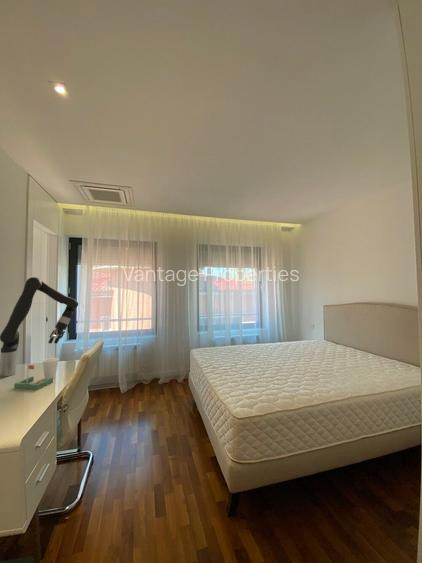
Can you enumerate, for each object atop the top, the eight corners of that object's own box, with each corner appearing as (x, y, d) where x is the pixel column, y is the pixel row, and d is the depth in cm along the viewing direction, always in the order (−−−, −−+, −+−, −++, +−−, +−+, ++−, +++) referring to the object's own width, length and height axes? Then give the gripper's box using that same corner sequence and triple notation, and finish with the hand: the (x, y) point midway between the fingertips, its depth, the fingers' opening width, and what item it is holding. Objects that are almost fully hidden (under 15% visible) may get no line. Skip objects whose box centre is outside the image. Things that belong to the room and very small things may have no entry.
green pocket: (14, 388, 147) (15, 364, 148) (31, 380, 159) (32, 358, 160) (37, 389, 145) (38, 365, 146) (52, 382, 158) (54, 359, 159)
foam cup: (60, 375, 170) (61, 358, 170) (51, 380, 161) (52, 361, 161) (49, 375, 171) (50, 357, 171) (38, 379, 162) (39, 361, 162)
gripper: (53, 321, 183) (42, 341, 174) (63, 320, 176) (52, 341, 167) (62, 325, 188) (52, 344, 180) (72, 324, 181) (62, 344, 173)
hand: (52, 343), depth 174 cm, fingers open, 8 cm apart
